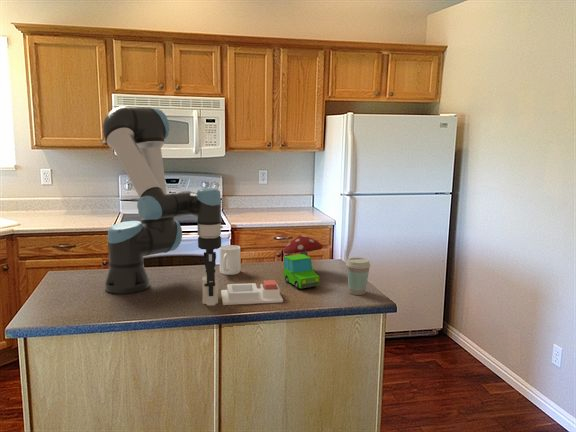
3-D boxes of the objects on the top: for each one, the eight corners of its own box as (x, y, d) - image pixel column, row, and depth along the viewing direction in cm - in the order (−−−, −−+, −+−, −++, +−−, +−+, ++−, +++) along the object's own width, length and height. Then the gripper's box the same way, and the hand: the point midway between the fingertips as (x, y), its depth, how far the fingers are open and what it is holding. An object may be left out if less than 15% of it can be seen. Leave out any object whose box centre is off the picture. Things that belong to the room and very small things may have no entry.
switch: (265, 290, 167) (265, 284, 167) (263, 285, 172) (263, 280, 172) (276, 290, 168) (276, 284, 167) (274, 285, 173) (274, 279, 172)
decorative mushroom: (282, 276, 193) (282, 239, 190) (283, 265, 209) (284, 231, 206) (322, 277, 193) (324, 240, 190) (321, 266, 208) (322, 232, 206)
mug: (233, 278, 190) (233, 252, 188) (213, 277, 191) (213, 251, 189) (242, 270, 201) (242, 245, 199) (223, 268, 203) (223, 244, 201)
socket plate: (222, 304, 161) (222, 295, 161) (221, 292, 174) (221, 282, 173) (283, 302, 165) (283, 292, 164) (276, 289, 177) (277, 280, 177)
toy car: (298, 292, 175) (298, 265, 174) (281, 282, 187) (281, 256, 185) (322, 288, 180) (323, 262, 178) (304, 278, 192) (305, 253, 190)
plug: (202, 303, 162) (202, 274, 160) (202, 298, 167) (202, 270, 165) (218, 303, 163) (217, 274, 161) (217, 298, 168) (217, 269, 166)
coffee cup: (370, 290, 179) (372, 258, 177) (366, 297, 171) (368, 264, 169) (347, 287, 181) (349, 256, 179) (342, 294, 173) (343, 261, 171)
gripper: (223, 244, 149) (223, 310, 153) (219, 228, 174) (220, 286, 177) (197, 244, 148) (199, 311, 152) (197, 228, 172) (198, 287, 176)
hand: (210, 298), depth 164 cm, fingers open, 13 cm apart
